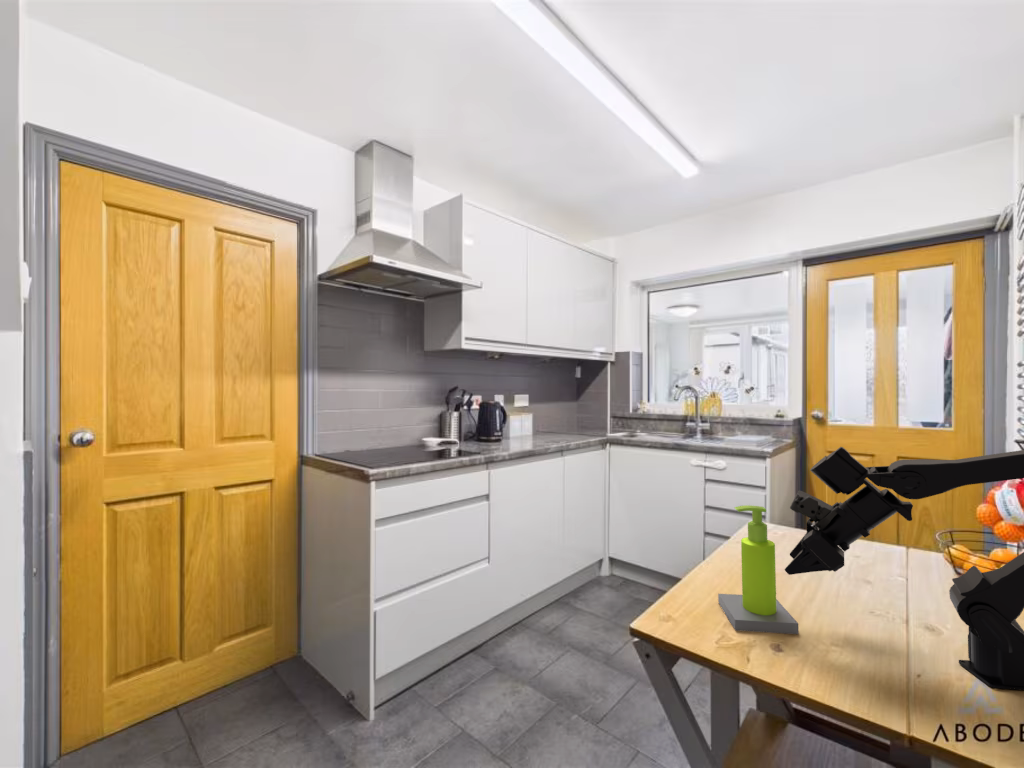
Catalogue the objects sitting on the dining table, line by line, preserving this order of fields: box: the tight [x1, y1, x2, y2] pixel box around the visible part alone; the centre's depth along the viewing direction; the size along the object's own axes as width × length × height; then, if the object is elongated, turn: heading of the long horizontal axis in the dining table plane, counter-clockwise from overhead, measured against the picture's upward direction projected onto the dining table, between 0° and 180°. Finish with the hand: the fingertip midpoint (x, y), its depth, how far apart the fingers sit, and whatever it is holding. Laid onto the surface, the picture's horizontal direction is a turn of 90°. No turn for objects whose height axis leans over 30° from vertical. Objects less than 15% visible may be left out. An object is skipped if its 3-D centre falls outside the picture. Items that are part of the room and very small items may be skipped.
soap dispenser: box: [734, 504, 777, 615], centre depth 91 cm, size 6×7×20 cm
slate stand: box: [717, 593, 799, 635], centre depth 91 cm, size 11×11×2 cm
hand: (789, 564), depth 87 cm, fingers open, 9 cm apart
